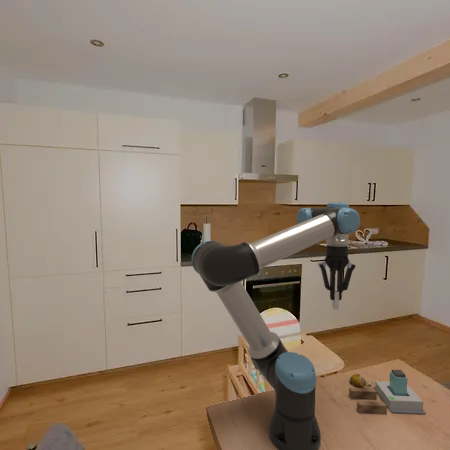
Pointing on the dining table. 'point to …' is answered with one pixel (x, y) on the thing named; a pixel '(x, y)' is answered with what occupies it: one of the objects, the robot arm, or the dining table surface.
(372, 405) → the pair of wooden rails
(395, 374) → the plug
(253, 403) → the dining table surface
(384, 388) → the port
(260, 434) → the dining table surface
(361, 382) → the fruit
